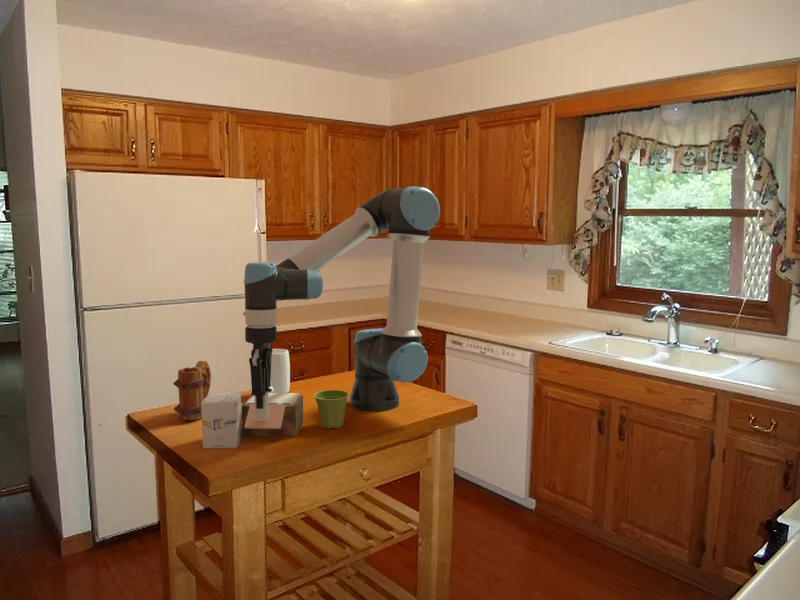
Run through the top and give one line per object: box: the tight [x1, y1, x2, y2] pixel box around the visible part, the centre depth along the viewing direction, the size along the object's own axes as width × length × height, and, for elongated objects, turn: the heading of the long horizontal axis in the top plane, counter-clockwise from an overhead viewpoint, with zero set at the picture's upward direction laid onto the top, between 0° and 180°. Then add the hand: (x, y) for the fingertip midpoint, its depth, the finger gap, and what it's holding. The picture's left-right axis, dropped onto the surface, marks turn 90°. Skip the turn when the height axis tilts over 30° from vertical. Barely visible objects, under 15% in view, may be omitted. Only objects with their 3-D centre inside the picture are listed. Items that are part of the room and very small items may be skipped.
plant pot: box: [313, 389, 350, 429], centre depth 167 cm, size 9×9×9 cm
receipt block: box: [241, 392, 305, 437], centre depth 164 cm, size 14×10×9 cm
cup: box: [271, 348, 291, 393], centre depth 197 cm, size 8×8×14 cm
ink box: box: [201, 392, 243, 450], centre depth 154 cm, size 9×8×12 cm
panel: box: [244, 405, 285, 429], centre depth 155 cm, size 9×7×1 cm
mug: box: [173, 360, 212, 421], centre depth 176 cm, size 15×8×15 cm, turn 168°
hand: (261, 419), depth 153 cm, fingers closed
